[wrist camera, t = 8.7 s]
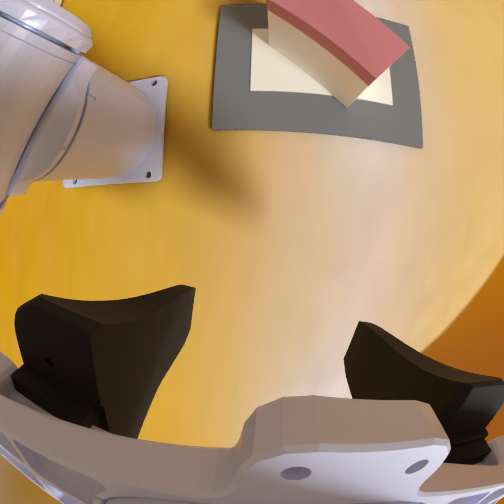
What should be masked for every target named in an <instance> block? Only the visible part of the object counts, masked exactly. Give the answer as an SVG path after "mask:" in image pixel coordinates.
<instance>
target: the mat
mask: <svg viewBox="0 0 504 504" xmlns="http://www.w3.org/2000/svg"><path fill="white" fill-rule="evenodd" d="M376 18H377V17H376ZM377 19H378V20H380V21H381V22H382V23H383V24H385V25H386V26H387V27H388V28H389V29H391V30H392V31H393V32H394V33H395V34H396V35H397V36H399V37H400V38H401V39H402V40H403V41H404V42H405V43H406V44H407V45H408V46H409V47H410V48H409V49H408V50H407V51H406V52H405V53H404V54H403V55H402V56H401V57H400V58H398V59H397V60H396V61H395V62H394V63H393V64H392V65H391V66H390V67H389V68H388V69H387V70H386V71H385V72H384V73H383V74H382V75H381V76H380V77H379V78H378V79H377V80H376V81H375V82H374V83H373V84H371V85H370V86H369V87H368V88H367V89H366V90H365V91H364V92H363V93H362V94H361V95H360V96H359V97H358V98H357V99H356V100H355V101H354V102H353V103H352V104H351V105H350V106H349V107H347V108H346V107H345V106H344V105H343V104H342V103H340V102H339V101H338V100H337V99H336V98H335V97H334V96H333V95H332V94H331V93H329V92H328V91H327V90H326V89H325V88H324V87H322V86H321V85H320V84H319V83H318V82H317V81H315V80H314V79H313V78H312V77H311V76H309V75H308V74H307V73H306V72H304V71H303V70H302V69H300V68H299V67H298V66H297V65H295V64H294V63H293V62H291V61H290V60H289V59H287V58H286V57H285V56H283V55H282V54H281V53H279V52H278V51H276V50H275V49H273V48H272V47H271V46H269V29H268V12H267V4H236V5H222V6H221V10H220V20H219V30H218V41H217V53H216V66H215V80H214V96H213V114H212V130H213V131H221V130H262V131H289V132H305V133H318V134H329V135H338V136H347V137H355V138H362V139H369V140H376V141H382V142H388V143H394V144H399V145H405V146H410V147H415V148H419V149H421V148H423V136H422V116H421V103H420V92H419V84H418V76H417V69H416V62H415V56H414V51H413V46H412V41H411V36H410V31H409V27H408V26H406V25H402V24H399V23H396V22H392V21H389V20H385V19H381V18H377Z"/></svg>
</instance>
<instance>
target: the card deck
mask: <svg viewBox="0 0 504 504" xmlns="http://www.w3.org/2000/svg"><path fill="white" fill-rule="evenodd" d="M266 4H267V12H268V29H269V46H271V47H272V48H273V49H275V50H276V51H278V52H279V53H281V54H282V55H283V56H285V57H286V58H287V59H289V60H290V61H291V62H293V63H294V64H295V65H297V66H298V67H299V68H300V69H302V70H303V71H304V72H306V73H307V74H308V75H309V76H311V77H312V78H313V79H314V80H315V81H317V82H318V83H319V84H320V85H321V86H322V87H324V88H325V89H326V90H327V91H328V92H329V93H331V94H332V95H333V96H334V97H335V98H336V99H337V100H338V101H339V102H340V103H342V104H343V105H344V106H345V107H346V108H347V107H349V106H350V105H351V104H352V103H353V102H354V101H355V100H356V99H357V98H358V97H359V96H360V95H361V94H362V93H363V92H364V91H365V90H366V89H367V88H368V87H369V86H370V85H371V84H373V83H374V82H375V81H376V80H377V79H378V78H379V77H380V76H381V75H382V74H383V73H384V72H385V71H386V70H387V69H388V68H389V67H390V66H391V65H392V64H393V63H394V62H395V61H396V60H397V59H398V58H400V57H401V56H402V55H403V54H404V53H405V52H406V51H407V50H408V49H409V48H410V47H409V46H408V45H407V44H406V43H405V42H404V41H403V40H402V39H401V38H400V37H399V36H397V35H396V34H395V33H394V32H393V31H392V30H391V29H389V28H388V27H387V26H386V25H385V24H383V23H382V22H381V21H380V20H378V19H377V18H376V17H375V16H373V15H372V14H371V13H370V12H368V11H367V10H366V9H364V8H363V7H361V6H360V5H359V4H357V3H356V2H354V1H353V0H266Z"/></svg>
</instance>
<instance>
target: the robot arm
mask: <svg viewBox="0 0 504 504" xmlns="http://www.w3.org/2000/svg"><path fill="white" fill-rule="evenodd" d="M91 38H92V29H91V28H90V27H89V26H88V25H87V24H86V23H84V22H83V21H82V20H80V19H79V18H78V17H76V16H75V15H73V14H72V13H70V12H69V11H67V10H65V9H64V8H62V7H60V6H59V5H57V4H55V3H54V2H52V1H50V0H0V215H1V213H2V211H3V210H4V208H5V205H6V202H7V199H8V197H9V196H16V195H23V194H25V193H26V191H27V189H28V187H29V186H30V185H31V183H33V182H34V181H48V180H63V185H64V187H65V188H73V187H83V186H94V185H106V184H120V183H137V182H157V181H159V180H161V178H162V175H163V146H164V127H165V112H166V100H167V89H168V80H167V78H166V77H164V76H159V77H153V78H147V79H142V80H137V81H132V82H126V81H125V80H123V79H121V78H120V77H118V76H116V75H115V74H113V73H111V72H110V71H108V70H106V69H105V68H103V67H101V66H99V65H98V64H96V63H94V62H92V61H91V60H89V59H88V58H86V57H85V56H83V55H82V54H80V52H82V53H84V54H86V53H87V52H88V51H89V50H90V49H91V47H92V46H93V41H92V40H91ZM156 81H157V84H156V85H155V86H153V83H154V82H156ZM148 172H151V177H150V178H148V177H147V173H148ZM76 179H77V183H76V182H75V181H76ZM195 289H196V288H194V287H190V286H186V285H177V286H173V287H170V288H167V289H163V290H160V291H157V292H154V293H150V294H146V295H142V296H138V297H133V298H128V299H120V300H109V301H82V300H71V299H64V298H59V297H53V296H48V295H44V294H40V295H38V296H37V297H35V298H33V299H31V300H30V301H28V302H26V303H24V304H23V305H21V306H20V307H19V308H18V309H17V311H16V314H15V331H16V336H17V340H18V344H19V348H20V352H21V356H22V359H23V363H24V364H23V365H22V366H21V367H20V368H19V369H18V368H17V367H16V365H15V364H14V363H13V362H12V361H11V360H10V359H9V358H8V357H6V356H5V355H4V354H2V353H1V352H0V454H1V455H2V456H3V457H5V458H6V459H7V460H8V461H9V462H10V463H11V464H13V465H14V466H15V467H16V468H17V469H18V470H19V471H21V472H22V473H23V474H24V475H25V476H27V477H28V478H29V479H30V480H32V481H33V482H34V483H35V484H37V485H38V486H39V487H40V488H42V489H43V490H44V491H46V492H47V493H49V494H50V495H51V496H53V497H54V498H56V499H57V500H59V501H60V502H61V503H63V504H495V503H496V502H497V501H499V500H500V499H501V498H502V497H503V496H504V435H503V436H500V437H497V438H495V439H493V440H491V441H490V442H488V443H487V442H486V440H485V439H484V438H486V437H487V436H488V432H487V430H486V429H485V428H486V426H487V425H488V424H489V423H490V421H491V420H492V419H493V417H494V416H495V415H496V413H497V412H498V410H499V409H500V407H501V406H502V404H503V402H504V381H503V380H502V379H501V378H498V377H491V376H484V375H478V374H473V373H469V372H465V371H462V370H458V369H455V368H453V367H450V366H447V365H444V364H442V363H440V362H437V361H435V360H433V359H431V358H429V357H427V356H425V355H423V354H421V353H420V352H418V351H416V350H414V349H413V348H411V347H409V346H408V345H406V344H405V343H403V342H402V341H400V340H399V339H397V338H396V337H394V336H393V335H391V334H390V333H388V332H387V331H385V330H384V329H382V328H380V327H379V326H377V325H375V324H372V323H368V322H362V321H359V322H358V325H357V328H356V330H355V333H354V335H353V338H352V340H351V343H350V345H349V348H348V350H347V352H346V355H345V357H344V365H345V373H346V378H347V382H348V385H349V389H350V392H351V395H352V399H347V398H334V397H324V396H314V395H312V396H296V397H282V398H279V399H277V400H275V401H272V402H270V403H267V404H265V405H262V406H260V407H257V408H256V410H255V411H254V412H253V413H252V415H251V416H250V417H249V418H248V419H247V421H246V422H245V423H244V426H243V430H242V433H241V436H240V439H239V441H238V442H237V444H236V446H234V447H232V448H217V447H198V446H186V445H176V444H167V443H159V442H152V441H146V440H140V439H137V438H138V435H139V433H140V430H141V427H142V425H143V422H144V419H145V417H146V414H147V412H148V410H149V407H150V405H151V402H152V400H153V398H154V396H155V393H156V391H157V389H158V387H159V385H160V383H161V381H162V379H163V378H164V376H165V375H166V373H167V371H168V370H169V368H170V367H171V365H172V363H173V362H174V360H175V359H176V357H177V355H178V354H179V352H180V350H181V349H182V347H183V345H184V343H185V341H186V338H187V336H188V334H189V331H190V327H191V319H192V311H193V303H194V296H195Z"/></svg>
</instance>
